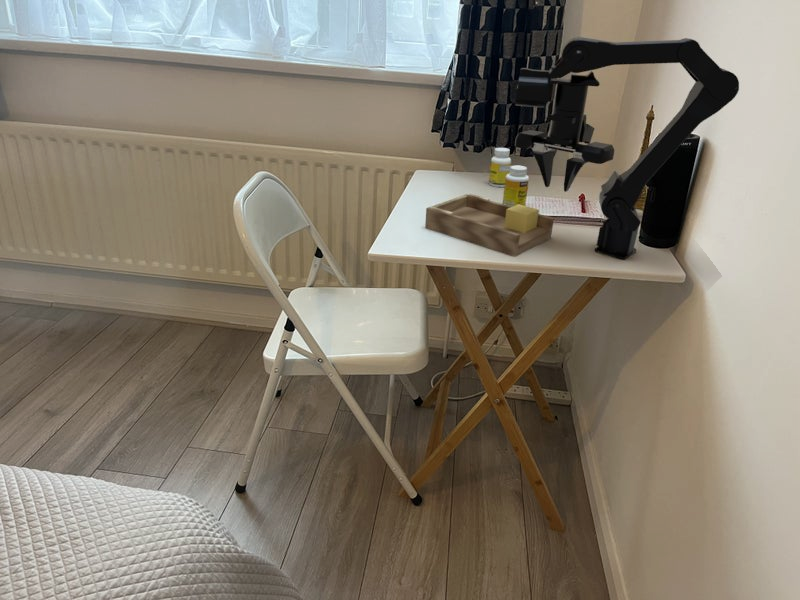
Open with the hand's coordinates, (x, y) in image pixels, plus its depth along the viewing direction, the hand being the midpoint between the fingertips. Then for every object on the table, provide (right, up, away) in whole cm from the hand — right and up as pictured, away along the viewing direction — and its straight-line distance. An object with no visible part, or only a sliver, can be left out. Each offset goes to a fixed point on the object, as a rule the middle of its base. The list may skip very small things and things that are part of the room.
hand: (556, 189), depth 122 cm
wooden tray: (-12, -8, +10) cm, 18 cm away
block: (-6, -7, +8) cm, 12 cm away
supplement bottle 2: (-4, 0, +26) cm, 27 cm away
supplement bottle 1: (-5, +9, +45) cm, 46 cm away
